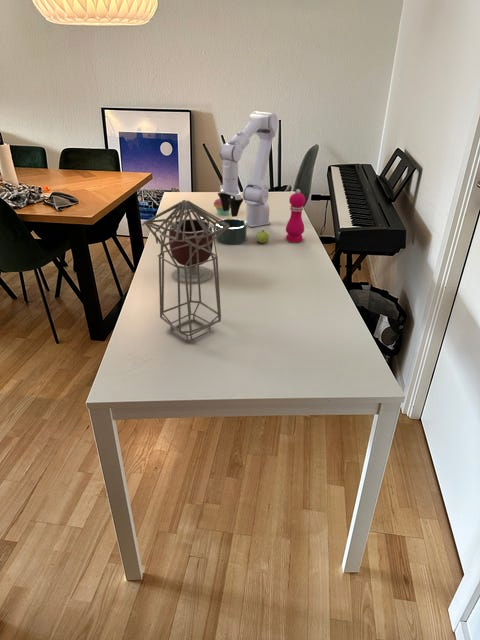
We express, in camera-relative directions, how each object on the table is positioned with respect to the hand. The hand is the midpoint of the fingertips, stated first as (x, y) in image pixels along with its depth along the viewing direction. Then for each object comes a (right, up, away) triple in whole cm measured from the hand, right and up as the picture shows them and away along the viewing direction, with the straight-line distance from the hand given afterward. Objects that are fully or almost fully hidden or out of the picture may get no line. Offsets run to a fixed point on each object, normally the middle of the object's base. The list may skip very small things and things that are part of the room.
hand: (230, 213), depth 175 cm
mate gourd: (-13, -27, -27) cm, 40 cm away
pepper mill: (+25, -10, +3) cm, 27 cm away
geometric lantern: (-9, -45, -57) cm, 73 cm away
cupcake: (-4, +7, +30) cm, 31 cm away
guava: (+13, -12, -1) cm, 17 cm away
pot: (0, -10, +2) cm, 10 cm away
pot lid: (-12, -4, +10) cm, 16 cm away
